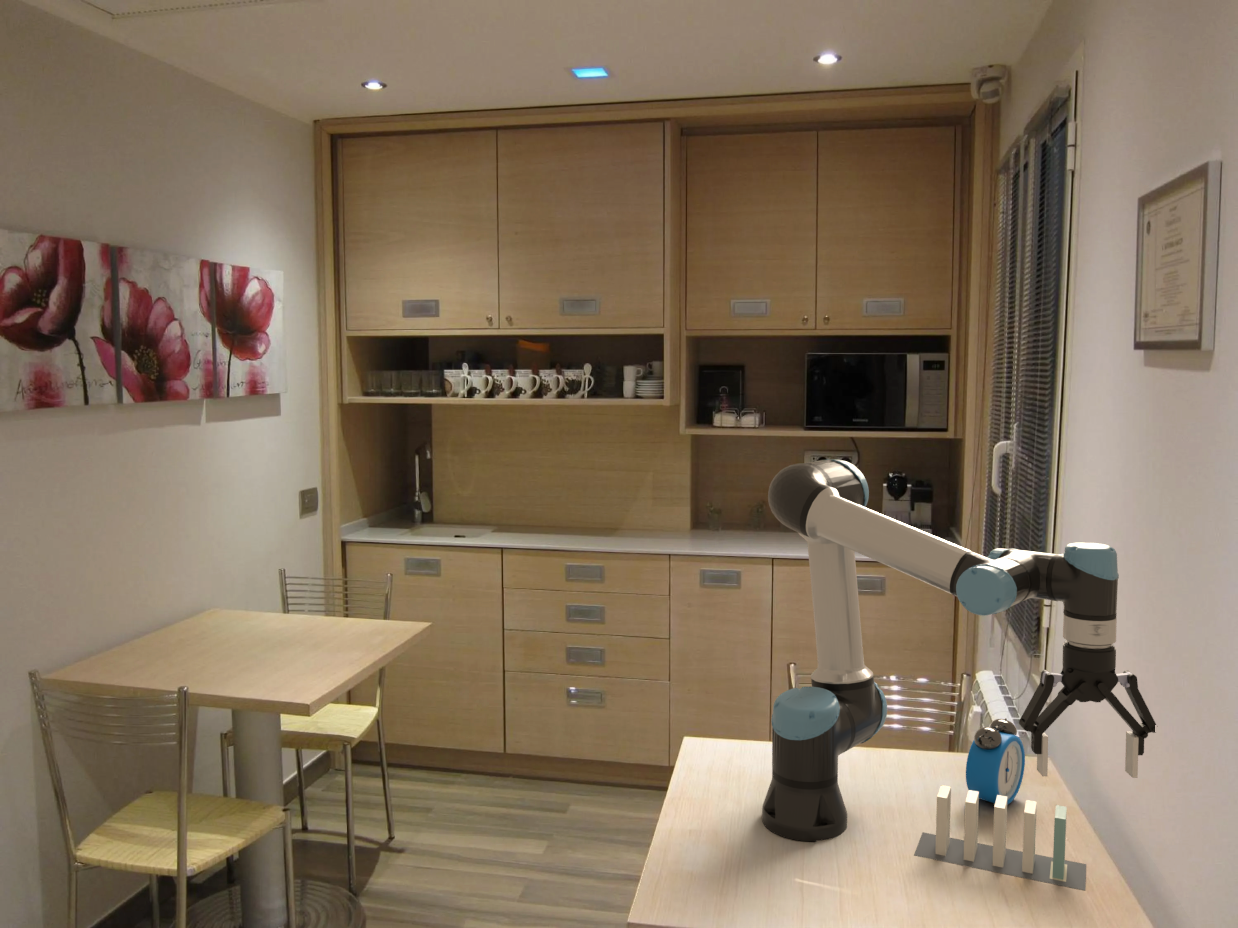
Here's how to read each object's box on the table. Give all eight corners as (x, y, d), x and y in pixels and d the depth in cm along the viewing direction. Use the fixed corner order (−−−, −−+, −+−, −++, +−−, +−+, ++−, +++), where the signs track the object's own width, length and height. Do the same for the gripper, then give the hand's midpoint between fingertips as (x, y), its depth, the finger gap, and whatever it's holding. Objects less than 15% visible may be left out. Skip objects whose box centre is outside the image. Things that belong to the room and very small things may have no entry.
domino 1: (935, 853, 164) (936, 796, 163) (939, 840, 169) (941, 784, 168) (945, 855, 163) (946, 798, 162) (949, 842, 168) (951, 786, 167)
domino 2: (963, 859, 162) (965, 801, 161) (967, 846, 167) (968, 789, 166) (973, 861, 161) (975, 803, 160) (977, 848, 166) (978, 791, 165)
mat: (913, 856, 164) (913, 854, 164) (922, 833, 172) (922, 831, 172) (1085, 892, 152) (1085, 890, 152) (1086, 865, 160) (1086, 863, 160)
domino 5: (1064, 865, 160) (1066, 806, 159) (1063, 879, 155) (1065, 819, 154) (1053, 863, 161) (1055, 804, 160) (1052, 877, 156) (1054, 817, 155)
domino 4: (1022, 871, 158) (1024, 811, 157) (1024, 857, 163) (1026, 799, 162) (1032, 873, 157) (1034, 813, 156) (1034, 859, 162) (1036, 801, 161)
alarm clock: (995, 816, 178) (997, 737, 177) (962, 806, 182) (964, 728, 181) (1024, 794, 187) (1027, 718, 186) (993, 785, 192) (995, 710, 190)
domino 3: (992, 865, 160) (994, 806, 159) (995, 851, 165) (997, 794, 164) (1002, 867, 159) (1004, 808, 158) (1005, 853, 164) (1007, 796, 163)
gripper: (1014, 648, 150) (1012, 781, 152) (1184, 649, 148) (1180, 784, 150) (999, 635, 158) (998, 763, 159) (1161, 636, 155) (1157, 765, 157)
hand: (1086, 773), depth 155 cm, fingers open, 13 cm apart
